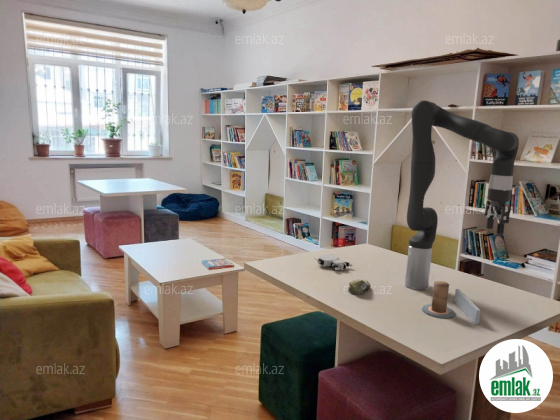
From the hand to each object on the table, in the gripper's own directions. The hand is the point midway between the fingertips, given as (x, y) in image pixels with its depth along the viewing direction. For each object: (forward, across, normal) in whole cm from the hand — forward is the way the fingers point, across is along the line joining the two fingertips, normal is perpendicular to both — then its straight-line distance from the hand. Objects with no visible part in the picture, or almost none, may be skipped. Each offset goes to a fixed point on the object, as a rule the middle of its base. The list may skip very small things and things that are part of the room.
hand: (494, 231), depth 157 cm
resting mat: (+28, +11, -21) cm, 37 cm away
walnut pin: (+27, +11, -21) cm, 36 cm away
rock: (+29, -6, -47) cm, 55 cm away
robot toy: (+29, -36, -55) cm, 72 cm away
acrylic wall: (+28, +10, -11) cm, 32 cm away
